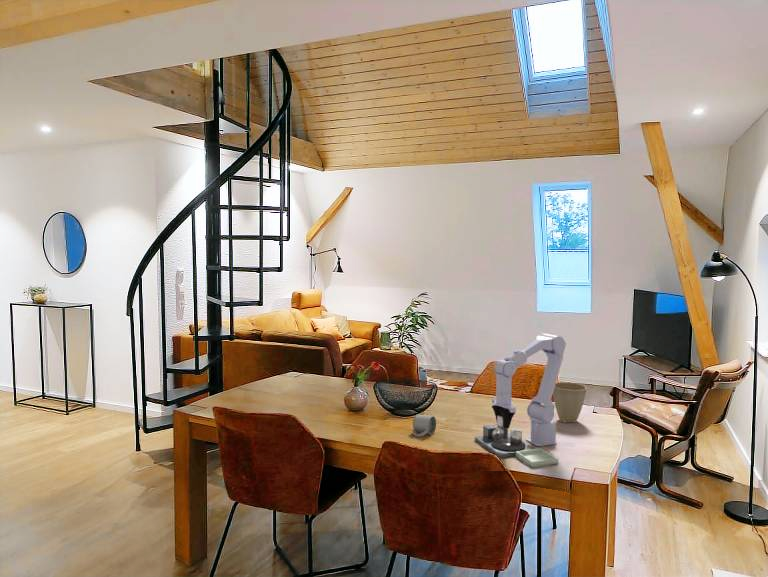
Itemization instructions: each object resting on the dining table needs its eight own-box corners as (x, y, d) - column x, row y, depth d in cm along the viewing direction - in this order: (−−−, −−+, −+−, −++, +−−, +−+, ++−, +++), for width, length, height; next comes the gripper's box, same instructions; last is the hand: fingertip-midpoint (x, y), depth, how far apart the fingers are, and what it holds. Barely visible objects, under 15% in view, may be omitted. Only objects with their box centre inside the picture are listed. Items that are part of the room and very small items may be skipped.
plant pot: (587, 426, 251) (588, 391, 250) (552, 424, 254) (553, 389, 253) (582, 416, 266) (584, 382, 265) (549, 414, 269) (550, 381, 267)
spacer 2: (517, 439, 227) (518, 428, 227) (524, 443, 223) (524, 432, 223) (508, 441, 226) (508, 429, 226) (514, 444, 222) (514, 433, 221)
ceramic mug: (419, 428, 248) (419, 411, 247) (436, 431, 244) (436, 414, 243) (408, 435, 239) (408, 418, 238) (425, 439, 235) (425, 421, 234)
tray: (540, 453, 219) (540, 448, 219) (558, 463, 209) (558, 458, 208) (515, 456, 216) (515, 451, 215) (532, 467, 205) (532, 462, 205)
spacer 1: (505, 425, 224) (505, 413, 223) (510, 428, 220) (511, 416, 219) (495, 426, 222) (495, 414, 222) (500, 429, 218) (500, 418, 218)
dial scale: (509, 436, 238) (509, 422, 237) (536, 453, 219) (537, 438, 219) (474, 440, 233) (475, 426, 232) (499, 458, 214) (500, 442, 213)
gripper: (485, 387, 226) (484, 421, 227) (504, 396, 212) (503, 432, 213) (501, 386, 228) (500, 419, 229) (520, 395, 214) (520, 430, 215)
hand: (503, 425), depth 221 cm, fingers closed on spacer 1, 4 cm apart
